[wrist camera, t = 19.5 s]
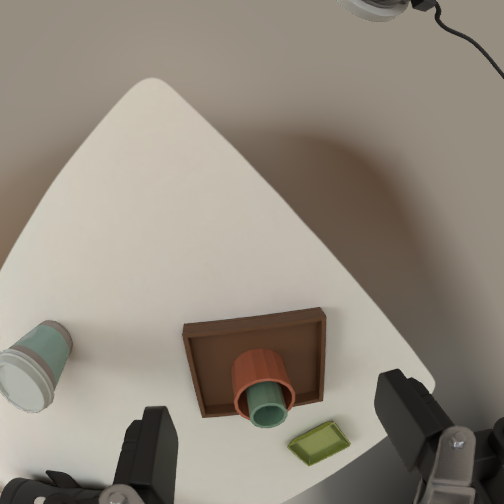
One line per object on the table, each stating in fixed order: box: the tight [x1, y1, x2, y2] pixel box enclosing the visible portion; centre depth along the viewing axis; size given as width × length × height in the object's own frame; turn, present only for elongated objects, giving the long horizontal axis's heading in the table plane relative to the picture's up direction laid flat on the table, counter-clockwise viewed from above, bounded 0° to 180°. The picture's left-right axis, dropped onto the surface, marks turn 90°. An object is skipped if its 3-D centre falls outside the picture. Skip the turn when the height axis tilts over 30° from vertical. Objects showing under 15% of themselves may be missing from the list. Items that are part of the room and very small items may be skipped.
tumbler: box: [231, 348, 295, 420], centre depth 38 cm, size 7×7×7 cm
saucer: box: [288, 422, 351, 466], centre depth 46 cm, size 9×9×2 cm
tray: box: [182, 307, 326, 418], centre depth 40 cm, size 17×14×3 cm
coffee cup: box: [0, 320, 72, 413], centre depth 32 cm, size 8×8×12 cm
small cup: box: [246, 381, 287, 428], centre depth 37 cm, size 4×4×9 cm
